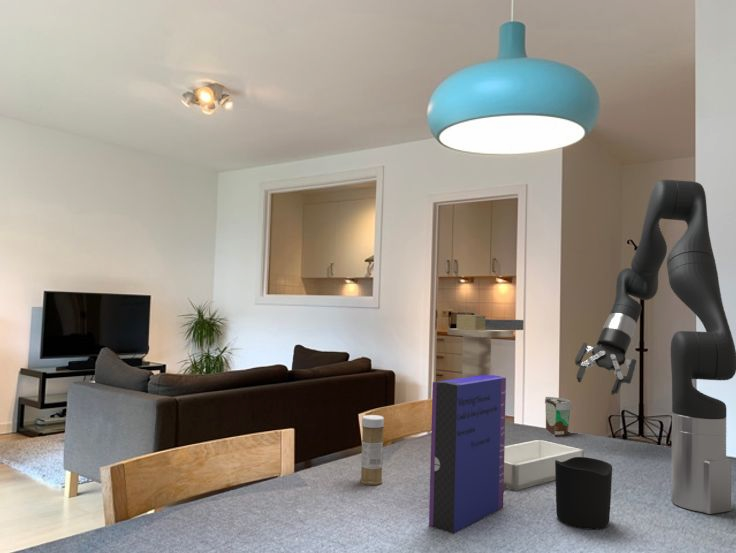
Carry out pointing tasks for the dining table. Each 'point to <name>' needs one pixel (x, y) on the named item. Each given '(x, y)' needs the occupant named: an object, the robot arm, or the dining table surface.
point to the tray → (534, 462)
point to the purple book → (466, 451)
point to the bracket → (477, 351)
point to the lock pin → (487, 323)
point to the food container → (557, 416)
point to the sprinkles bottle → (372, 449)
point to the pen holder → (583, 492)
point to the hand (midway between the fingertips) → (595, 387)
